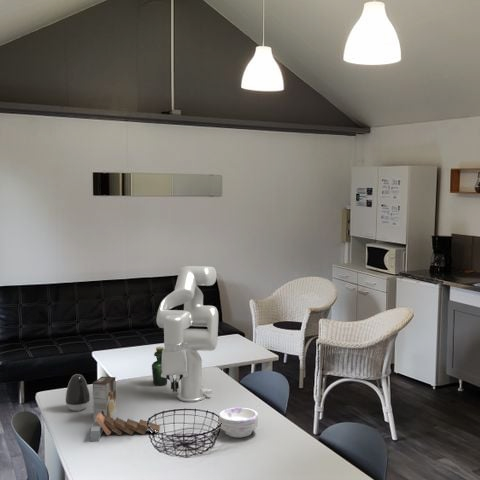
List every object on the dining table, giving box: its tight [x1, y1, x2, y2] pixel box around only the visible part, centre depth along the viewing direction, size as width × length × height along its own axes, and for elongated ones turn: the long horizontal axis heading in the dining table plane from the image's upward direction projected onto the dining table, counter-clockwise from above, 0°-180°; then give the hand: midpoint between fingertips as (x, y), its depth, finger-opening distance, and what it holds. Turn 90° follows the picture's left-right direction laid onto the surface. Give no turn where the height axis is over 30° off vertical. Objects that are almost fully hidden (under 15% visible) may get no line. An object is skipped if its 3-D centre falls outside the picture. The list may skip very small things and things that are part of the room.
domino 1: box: [96, 412, 113, 436], centre depth 235 cm, size 2×5×8 cm
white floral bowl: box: [218, 407, 259, 439], centre depth 235 cm, size 15×15×8 cm
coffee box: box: [92, 376, 117, 421], centre depth 251 cm, size 9×6×16 cm
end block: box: [90, 419, 104, 442], centre depth 235 cm, size 3×14×4 cm, turn 5°
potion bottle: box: [151, 346, 168, 387], centre depth 294 cm, size 8×8×18 cm
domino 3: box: [114, 417, 135, 436], centre depth 236 cm, size 2×5×8 cm
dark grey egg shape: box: [65, 373, 91, 412], centre depth 261 cm, size 10×10×15 cm
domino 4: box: [125, 418, 147, 435], centre depth 236 cm, size 2×5×8 cm
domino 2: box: [103, 415, 124, 436], centre depth 235 cm, size 2×5×8 cm
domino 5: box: [138, 419, 161, 433], centre depth 237 cm, size 2×5×8 cm
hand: (175, 390), depth 243 cm, fingers closed
